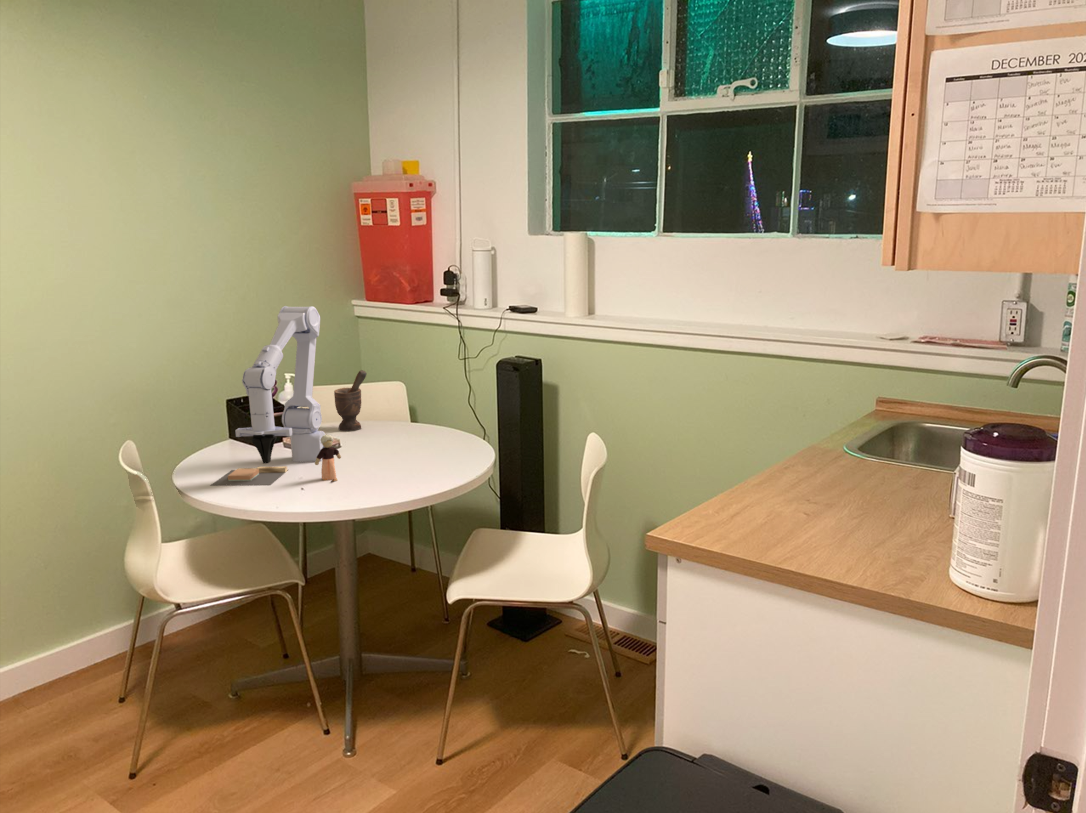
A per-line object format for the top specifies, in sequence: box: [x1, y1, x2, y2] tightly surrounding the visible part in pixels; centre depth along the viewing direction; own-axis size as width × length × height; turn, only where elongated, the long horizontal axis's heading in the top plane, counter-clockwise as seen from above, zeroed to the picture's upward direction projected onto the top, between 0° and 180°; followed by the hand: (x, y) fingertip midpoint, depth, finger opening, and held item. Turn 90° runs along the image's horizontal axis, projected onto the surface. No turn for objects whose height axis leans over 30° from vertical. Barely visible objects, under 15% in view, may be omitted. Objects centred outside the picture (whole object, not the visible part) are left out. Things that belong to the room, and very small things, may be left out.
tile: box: [228, 468, 259, 481], centre depth 231 cm, size 1×6×6 cm
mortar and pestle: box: [333, 369, 367, 432], centre depth 283 cm, size 12×9×20 cm
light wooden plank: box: [235, 465, 289, 473], centre depth 236 cm, size 14×3×1 cm, turn 87°
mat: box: [209, 469, 287, 487], centre depth 232 cm, size 16×14×1 cm
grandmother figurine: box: [314, 433, 342, 483], centre depth 228 cm, size 8×4×13 cm, turn 148°
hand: (266, 462), depth 230 cm, fingers closed
